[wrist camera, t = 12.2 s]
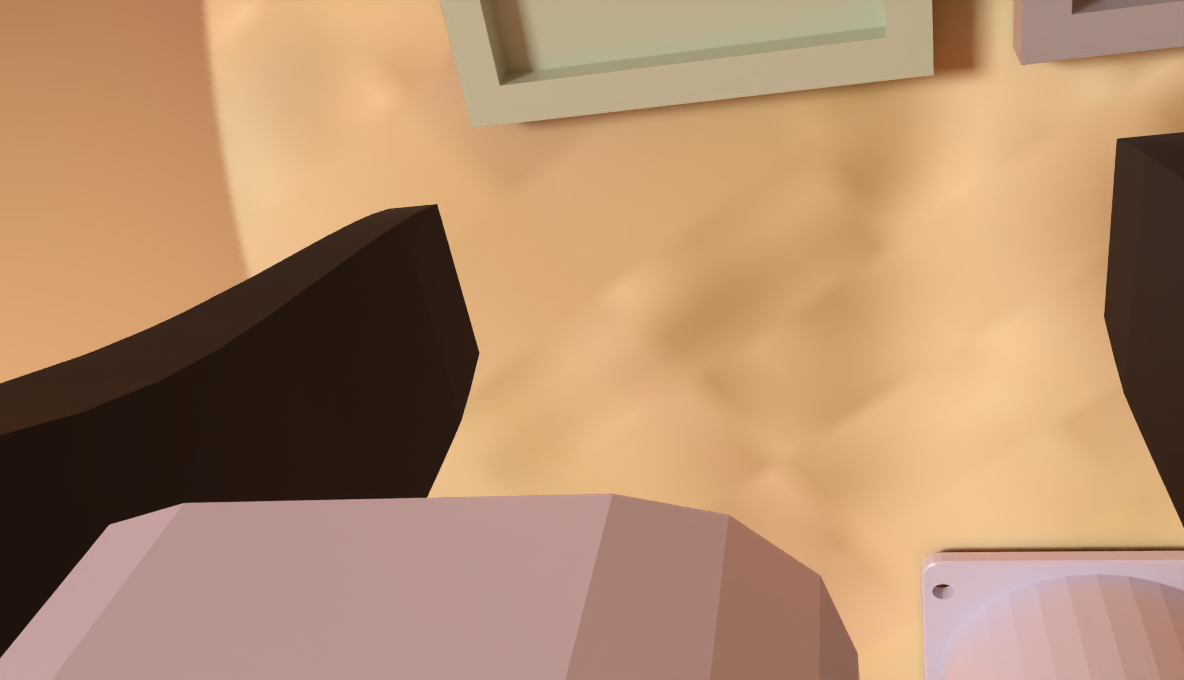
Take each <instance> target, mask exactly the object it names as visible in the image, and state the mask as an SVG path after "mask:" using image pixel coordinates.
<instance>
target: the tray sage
mask: <svg viewBox="0 0 1184 680" xmlns="http://www.w3.org/2000/svg"><path fill="white" fill-rule="evenodd" d="M439 2H440V6H441V10H442V14H443V18H444V22H445V26H446V29H447V33H448V37H449V41H450V45H451V49H452V53H453V57H454V61H455V65H456V69H457V72H458V76H459V80H460V84H461V88H462V92H463V96H464V100H465V104H466V108H467V112H468V115H469V119H470V123H471V127H472V128H477V127H486V126H495V125H503V124H512V123H521V122H529V121H538V120H547V119H556V118H564V117H573V116H582V115H590V114H599V113H608V112H617V111H625V110H634V109H643V108H651V107H660V106H669V105H678V104H686V103H695V102H704V101H712V100H721V99H730V98H739V97H747V96H756V95H765V94H773V93H782V92H791V91H800V90H808V89H817V88H826V87H834V86H843V85H852V84H861V83H869V82H878V81H887V80H895V79H904V78H913V77H922V76H930V75H934V67H933V19H932V0H439Z"/></svg>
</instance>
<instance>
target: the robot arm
mask: <svg viewBox="0 0 1184 680" xmlns="http://www.w3.org/2000/svg"><path fill="white" fill-rule="evenodd" d="M1104 318H1105V322H1106V326H1107V331H1108V335H1109V339H1110V343H1111V347H1112V351H1113V355H1114V359H1115V363H1116V366H1117V370H1118V373H1119V377H1120V381H1121V384H1122V388H1123V392H1124V394H1125V397H1126V399H1127V402H1128V404H1129V406H1130V409H1131V411H1132V413H1133V415H1134V418H1135V420H1136V422H1137V425H1138V427H1139V429H1140V431H1141V434H1142V436H1143V438H1144V440H1145V443H1146V445H1147V447H1148V449H1149V452H1150V454H1151V456H1152V458H1153V461H1154V463H1155V465H1156V467H1157V469H1158V472H1159V474H1160V476H1161V478H1162V480H1163V483H1164V485H1165V487H1166V489H1167V491H1168V494H1169V496H1170V498H1171V500H1172V503H1173V505H1174V507H1175V509H1176V511H1177V514H1178V516H1179V518H1180V520H1181V522H1182V525H1183V527H1184V132H1182V133H1171V134H1161V135H1151V136H1140V137H1130V138H1119V139H1117V145H1116V159H1115V173H1114V187H1113V200H1112V214H1111V228H1110V242H1109V256H1108V270H1107V284H1106V298H1105V312H1104ZM478 356H479V350H478V347H477V343H476V340H475V336H474V332H473V329H472V325H471V322H470V318H469V315H468V311H467V308H466V304H465V301H464V297H463V294H462V290H461V287H460V283H459V280H458V276H457V273H456V269H455V266H454V262H453V259H452V255H451V252H450V248H449V244H448V241H447V237H446V234H445V230H444V227H443V223H442V220H441V216H440V213H439V209H438V206H437V204H435V205H424V206H414V207H403V208H393V209H387V210H384V211H381V212H378V213H374V214H372V215H369V216H367V217H365V218H362V219H360V220H358V221H356V222H354V223H352V224H350V225H348V226H346V227H343V228H342V229H340V230H338V231H336V232H334V233H332V234H330V235H328V236H326V237H324V238H323V239H321V240H319V241H317V242H315V243H313V244H311V245H310V246H308V247H306V248H304V249H302V250H301V251H299V252H297V253H295V254H293V255H291V256H290V257H288V258H286V259H284V260H282V261H281V262H279V263H277V264H275V265H273V266H272V267H270V268H268V269H266V270H264V271H262V272H261V273H259V274H257V275H255V276H253V277H251V278H249V279H247V280H245V281H244V282H242V283H240V284H238V285H236V286H234V287H232V288H230V289H228V290H226V291H224V292H222V293H221V294H218V295H216V296H214V297H212V298H211V299H209V300H207V301H205V302H203V303H201V304H199V305H197V306H195V307H193V308H191V309H189V310H187V311H185V312H183V313H181V314H179V315H177V316H175V317H173V318H171V319H168V320H166V321H164V322H162V323H160V324H158V325H155V326H153V327H151V328H149V329H146V330H144V331H142V332H139V333H137V334H135V335H132V336H130V337H127V338H125V339H122V340H120V341H118V342H115V343H113V344H110V345H108V346H106V347H103V348H101V349H98V350H96V351H93V352H91V353H88V354H85V355H83V356H80V357H77V358H74V359H71V360H68V361H66V362H62V363H59V364H56V365H53V366H50V367H48V368H45V369H42V370H39V371H36V372H33V373H30V374H27V375H24V376H21V377H18V378H15V379H12V380H9V381H6V382H3V383H0V680H860V678H859V666H858V654H857V651H856V649H855V647H854V645H853V643H852V641H851V639H850V637H849V635H848V633H847V631H846V628H845V626H844V624H843V622H842V620H841V618H840V616H839V614H838V612H837V610H836V608H835V605H834V603H833V601H832V599H831V597H830V595H829V593H828V591H827V589H826V587H825V584H824V582H823V580H822V578H821V576H820V575H819V574H817V573H816V572H814V571H813V570H811V569H810V568H808V567H806V566H805V565H803V564H802V563H800V562H799V561H797V560H796V559H794V558H793V557H791V556H790V555H788V554H787V553H785V552H784V551H782V550H781V549H779V548H778V547H776V546H775V545H773V544H772V543H770V542H769V541H767V540H766V539H764V538H763V537H761V536H760V535H758V534H757V533H755V532H754V531H752V530H751V529H749V528H748V527H746V526H745V525H743V524H742V523H740V522H739V521H737V520H736V519H734V518H733V517H731V516H730V515H726V514H721V513H715V512H710V511H704V510H699V509H693V508H688V507H682V506H677V505H671V504H666V503H660V502H655V501H649V500H644V499H638V498H633V497H627V496H622V495H616V494H582V495H536V496H489V497H443V498H427V496H428V494H429V492H430V490H431V488H432V485H433V483H434V481H435V479H436V477H437V475H438V472H439V470H440V468H441V466H442V463H443V461H444V459H445V457H446V454H447V452H448V450H449V448H450V446H451V443H452V441H453V439H454V437H455V434H456V432H457V429H458V427H459V425H460V422H461V420H462V417H463V413H464V410H465V406H466V403H467V399H468V396H469V393H470V389H471V385H472V381H473V377H474V373H475V369H476V364H477V360H478ZM921 584H922V612H923V640H924V668H925V680H1184V551H1070V552H940V553H934V554H931V555H929V556H927V557H926V558H925V559H924V560H923V561H922V565H921ZM940 584H946V585H950V586H948V587H944V588H940V587H936V586H937V585H940Z"/></svg>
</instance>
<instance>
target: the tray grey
mask: <svg viewBox="0 0 1184 680" xmlns="http://www.w3.org/2000/svg"><path fill="white" fill-rule="evenodd" d="M1183 46H1184V0H1014V45H1013V48H1014V50H1015V52H1016V54H1017V57H1018V59H1019V61H1020V63H1021V65H1026V64H1035V63H1044V62H1052V61H1061V60H1070V59H1078V58H1087V57H1096V56H1105V55H1113V54H1122V53H1131V52H1139V51H1148V50H1157V49H1166V48H1174V47H1183Z"/></svg>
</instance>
